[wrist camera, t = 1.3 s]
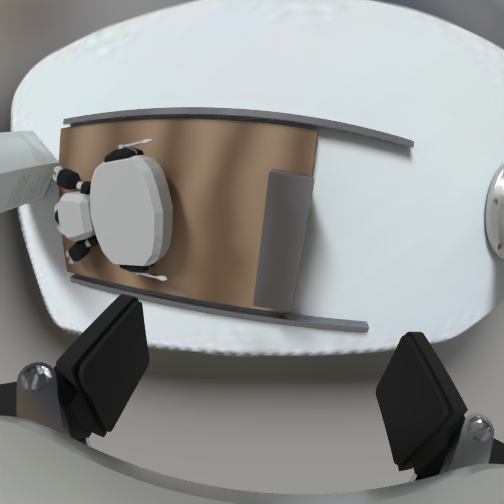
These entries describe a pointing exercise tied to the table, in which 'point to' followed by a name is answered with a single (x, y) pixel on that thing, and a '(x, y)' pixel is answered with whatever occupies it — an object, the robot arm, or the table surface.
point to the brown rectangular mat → (212, 205)
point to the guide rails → (216, 307)
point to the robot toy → (118, 210)
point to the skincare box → (23, 169)
